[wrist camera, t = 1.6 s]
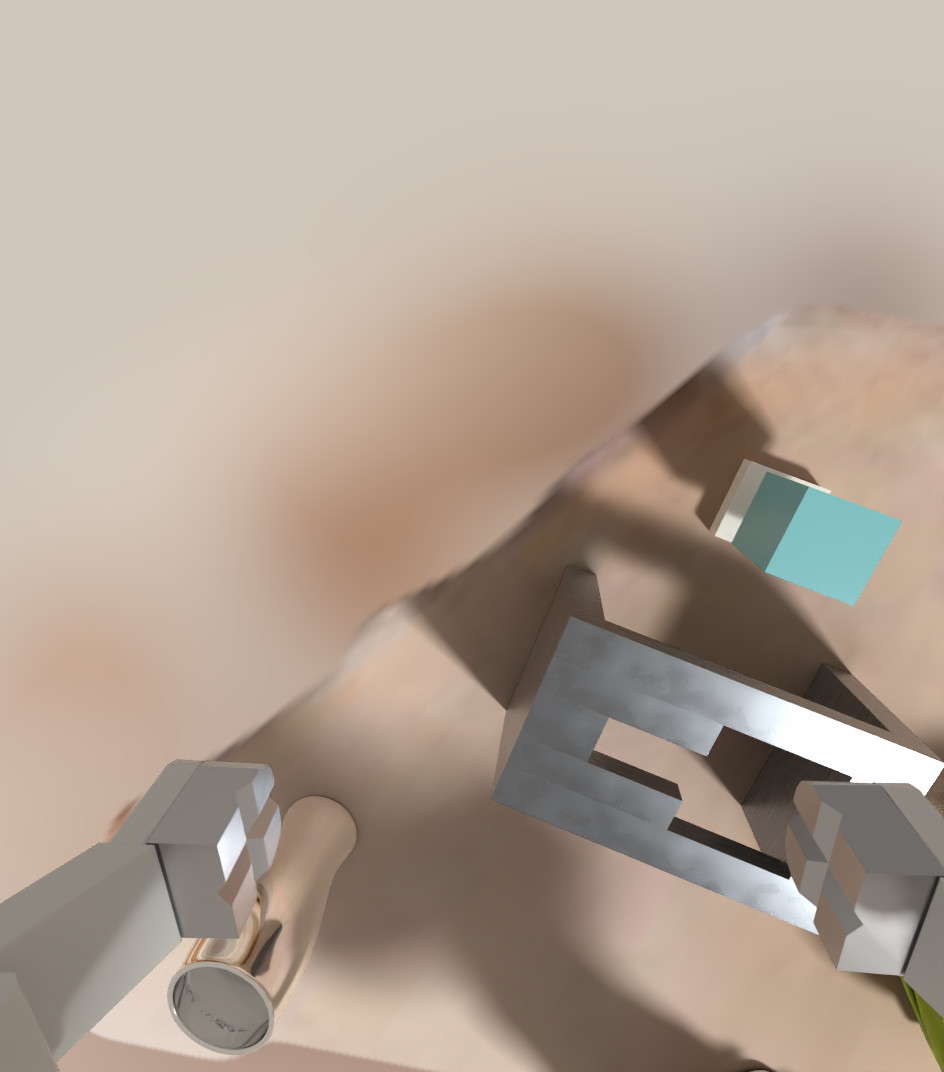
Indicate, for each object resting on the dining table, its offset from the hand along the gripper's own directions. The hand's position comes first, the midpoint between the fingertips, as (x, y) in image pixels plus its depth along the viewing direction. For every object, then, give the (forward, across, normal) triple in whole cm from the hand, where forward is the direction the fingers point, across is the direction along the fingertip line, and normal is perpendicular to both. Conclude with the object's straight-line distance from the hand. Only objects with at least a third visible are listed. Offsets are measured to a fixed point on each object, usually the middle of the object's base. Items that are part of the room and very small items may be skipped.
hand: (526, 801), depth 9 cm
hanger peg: (+30, +16, -6) cm, 34 cm away
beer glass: (+29, -16, -32) cm, 46 cm away
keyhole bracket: (+28, +11, -18) cm, 36 cm away
